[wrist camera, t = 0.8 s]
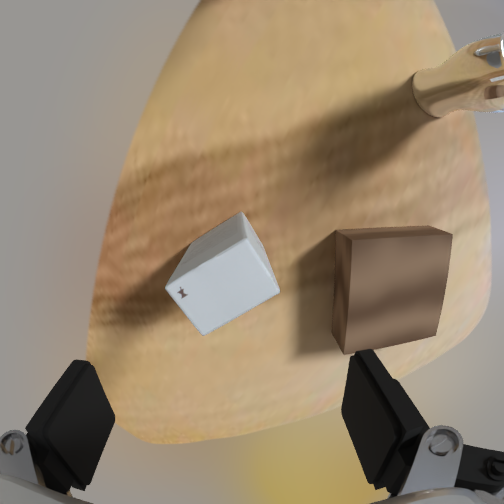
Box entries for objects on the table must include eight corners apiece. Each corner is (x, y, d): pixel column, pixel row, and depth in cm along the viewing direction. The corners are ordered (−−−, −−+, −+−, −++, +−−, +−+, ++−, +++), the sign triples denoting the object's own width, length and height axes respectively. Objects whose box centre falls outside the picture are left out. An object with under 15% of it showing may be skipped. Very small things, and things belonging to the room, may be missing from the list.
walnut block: (334, 229, 29) (352, 240, 24) (427, 225, 30) (452, 234, 25) (330, 331, 32) (343, 354, 28) (415, 317, 33) (435, 335, 28)
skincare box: (214, 276, 30) (200, 339, 18) (190, 241, 29) (160, 287, 17) (265, 245, 29) (282, 294, 18) (243, 209, 28) (245, 234, 16)
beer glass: (416, 121, 26) (515, 103, 12) (401, 64, 24) (488, 20, 10) (457, 121, 26) (550, 113, 11) (444, 69, 24) (529, 41, 10)
